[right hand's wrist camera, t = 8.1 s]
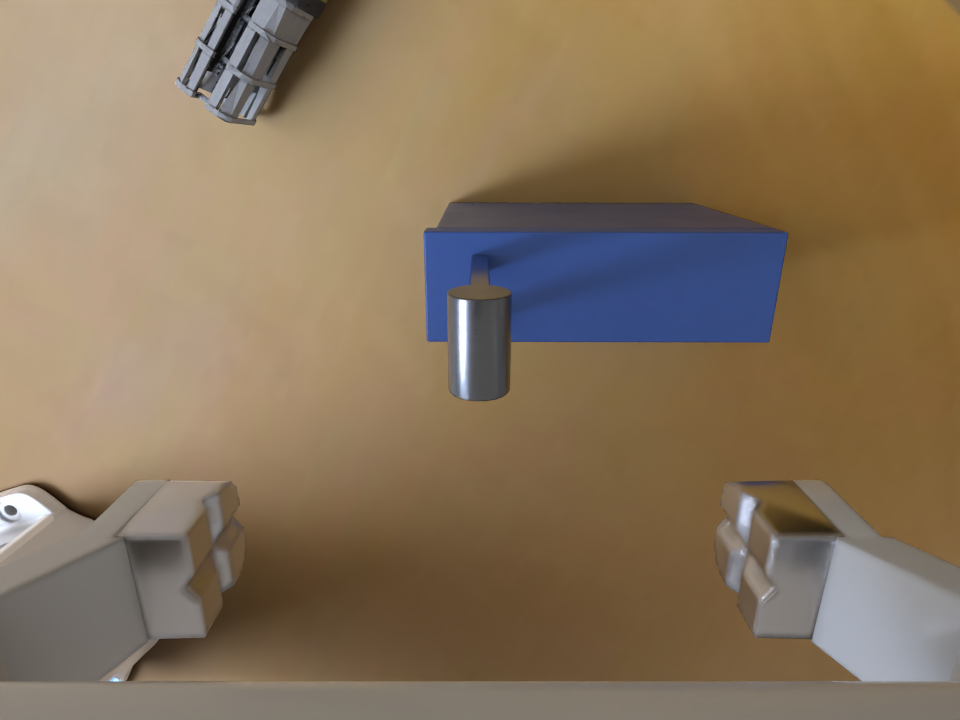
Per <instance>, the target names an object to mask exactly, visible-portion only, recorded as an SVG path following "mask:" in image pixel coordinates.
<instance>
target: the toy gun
mask: <svg viewBox="0 0 960 720" xmlns="http://www.w3.org/2000/svg"><path fill="white" fill-rule="evenodd" d="M327 1H328V0H218V1H217V3H216V5H215V7H214V9H213V11H212V13H211V15H210V17H209V19H208V21H207V23H206V25H205V27H204V29H203V31H202V33H201V35H200V37H198V38H197V40H196V41H195V42H196V47H195V49H194V51H193V53H192V55H191V56H190V58H189V60H188V62H187V64H186V66H185V68H184V70H183V72H182V74H181V76H180V77H178V78H177V80H176V82H175V84H176V85H177V86H178V87H179V88H180V89H181V90H182V91H184V92H185V93H186V94H187V95H189V96H190V97H194V98H199V99H201V100H202V101H203V102H204V103H206V105H205V108H206V109H207V110H209V111H210V112H211V113H213V114H214V115H215V116H217V117H219V118H220V119H222V120H223V121H225V122H228V123H236V124H245V125H254V124H255V123H256V117H257V116H258V114H259V112H260V110H261V108H262V107H263V105H264V103H265V101H266V100H267V98H268V96H269V94H270V93H271V91H272V89H273V90H275V87H276V84H275V83H276V82H277V80H278V78H279V76H280V74H281V73H282V71H283V69H284V67H285V65H286V64H287V62H288V60H289V58H290V56H291V54H292V53H293V51H296V49H297V48H298V47H297V46H296V45H297V44H298V42H299V40H300V39H301V37H302V35H303V34H304V32H305V31H306V29H307V27H308V26H309V24H310V22H311V21H312V20H313V18H314V17H317V18H319V16H320V14H321V12H322V10H323V8H324V6H325V4H326V2H327ZM206 72H207V73H206ZM192 73H193V74H192ZM205 74H206V75H205ZM191 75H192V76H191ZM190 76H191V78H190ZM204 76H205V77H204ZM189 78H190V79H189ZM203 78H204V79H203ZM202 80H203V81H202ZM198 88H202V89H204V90H206V91H208V92H211V93H212V94H211V96H210V98H209V99H208V98H207V97H206V96H204V95H203V94H202V93H200V92H197V90H198ZM222 102H223V105H222V106H221V104H222ZM220 106H221V108H220V109H219V107H220ZM218 109H219V111H218ZM239 114H241V115H242V116H243V117H245V118H246V119H240V118H237V117H238V116H239Z"/></svg>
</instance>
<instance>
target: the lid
mask: <svg viewBox="0 0 960 720" xmlns="http://www.w3.org/2000/svg"><path fill="white" fill-rule="evenodd" d="M787 238H788V233H787V232H784V231H781V230H778V229H647V228H426V230H425V232H424V261H425V294H426V328H427V341H429V342H448V378H449V391H450V393H451V394H452V395H454V396H455V397H458V398H460V399H464V400H470V401H489V400H495V399H498V398H501V397H503V396H505V395H506V394H508V392H509V390H510V360H511V342H769V341H770V335H771V329H772V324H773V318H774V312H775V307H776V301H777V295H778V289H779V284H780V278H781V272H782V267H783V261H784V255H785V250H786V244H787Z"/></svg>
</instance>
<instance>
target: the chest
mask: <svg viewBox="0 0 960 720" xmlns="http://www.w3.org/2000/svg"><path fill="white" fill-rule="evenodd" d="M437 228H647V229H775V228H772V227H768V226H765V225H762V224H759V223H755V222H752V221H749V220H746V219H742V218H739V217H736V216H733V215H729V214H726V213H723V212H720V211H716V210H713V209H710V208H707V207H703V206H700V205H696V204H693V203H449V205H448V207H447V209H446V211H445V213H444V215H443V217H442V219H441V221H440V223H439V225H438V227H437Z"/></svg>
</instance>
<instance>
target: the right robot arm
mask: <svg viewBox="0 0 960 720" xmlns="http://www.w3.org/2000/svg"><path fill="white" fill-rule="evenodd" d="M239 505H240V502H239V497H238V492H237V487H236V486H235V485H234V484H233V483H232V482H231V481H193V480H172V481H171V480H141V481H136V482H134V483H133V484H132V485H131V486H130V487H129V488H128V489H127V490H126V491H125V492H124V493H123V494H122V495H121V496H120V497H119V498H118V499H117V500H116V501H115V502H114V503H113V504H112V505H111V506H110V507H109V508H108V509H107V510H106V511H104V512H103V513H102V514H101V515H100V516H99V517H98V518H97V519H96V520H92V519H90V518H87V517H84V516H82V515H79V514H77V513H75V512H73V511H71V510H69V509H68V508H67V507H65V506H64V505H63V504H62V503H61V502H59V501H58V500H57V499H55V498H54V497H53V496H52V495H50V494H49V493H47V492H46V491H44V490H43V489H41V488H39V487H37V486H34V485H22V486H18V487H15V488H12V489H9V490H6V491H2V492H0V720H960V567H958V566H956V565H954V564H951V563H949V562H947V561H945V560H942V559H940V558H938V557H935V556H933V555H931V554H929V553H926V552H924V551H922V550H920V549H917V548H915V547H913V546H911V545H908V544H906V543H904V542H902V541H899V540H897V539H895V538H893V537H881V536H880V535H879V534H878V533H877V532H876V531H875V530H874V529H873V528H872V527H871V526H870V525H869V524H868V523H867V522H866V521H865V520H864V519H863V518H862V517H861V516H860V515H859V514H858V513H857V512H856V511H855V510H854V509H853V508H852V507H851V506H850V505H848V504H847V503H846V502H845V501H844V500H843V499H842V498H841V497H840V496H839V495H838V494H837V493H836V492H835V491H834V490H833V489H832V488H831V487H830V486H829V485H828V484H827V483H826V482H823V481H821V480H818V479H815V480H790V481H750V482H726V484H725V486H724V489H723V491H722V496H721V501H720V505H721V507H722V508H723V510H724V511H725V513H726V515H727V517H726V518H725V519H724V520H723V521H722V522H721V523H720V524H719V525H718V526H717V527H716V534H715V542H714V548H715V558H716V564H717V567H718V570H719V573H720V575H721V577H722V579H723V581H724V583H725V585H726V586H728V587H729V588H731V589H732V590H734V591H735V592H737V593H738V594H739V595H738V601H737V607H738V608H739V610H740V612H741V614H742V616H743V617H744V619H745V621H746V623H747V624H748V626H749V628H750V630H751V632H752V633H753V635H754V637H755V638H789V639H812V641H811V642H813V643H814V644H815V645H816V646H818V647H819V648H820V649H821V650H823V651H824V652H825V653H827V654H828V655H829V656H830V657H832V658H833V659H834V660H835V661H837V662H838V663H839V664H841V665H842V666H843V667H844V668H846V669H847V670H848V671H850V672H851V673H852V674H853V675H855V676H856V677H857V678H858V679H860V680H861V681H126V680H127V678H128V676H129V674H130V672H131V669H132V666H133V665H134V664H135V663H136V662H137V661H138V660H139V659H140V658H141V657H142V656H143V655H144V654H145V653H146V652H147V651H149V650H150V649H151V648H152V647H153V646H154V645H155V644H156V643H157V641H158V640H159V639H170V638H205V637H206V635H207V633H208V632H209V630H210V628H211V626H212V625H213V623H214V621H215V619H216V617H217V616H218V614H219V612H220V610H221V608H222V607H223V601H222V595H221V594H222V593H223V592H225V591H226V590H228V589H229V588H231V587H232V586H234V585H235V583H236V581H237V579H238V577H239V575H240V573H241V570H242V566H243V562H244V558H245V542H246V540H245V533H244V527H243V526H242V525H241V524H240V523H239V522H238V521H237V520H236V519H235V518H234V517H233V515H234V513H235V511H236V510H237V508H238V507H239ZM13 506H14V507H15V508H14V507H13Z"/></svg>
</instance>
